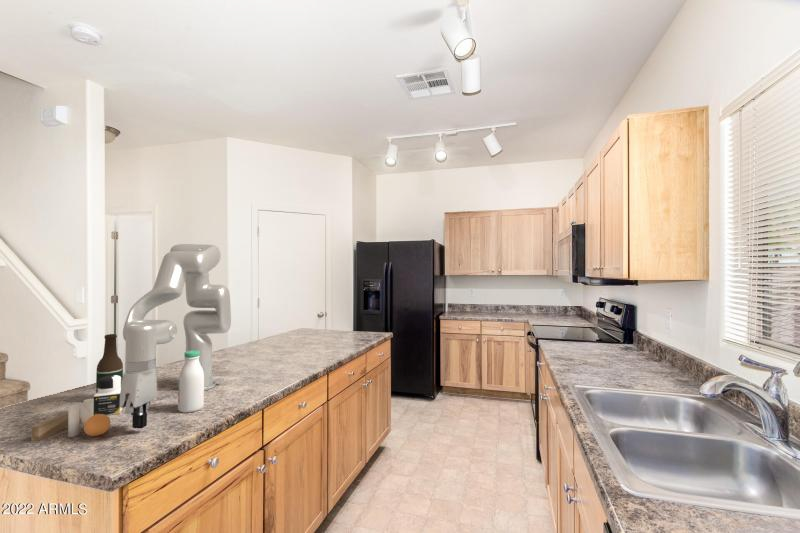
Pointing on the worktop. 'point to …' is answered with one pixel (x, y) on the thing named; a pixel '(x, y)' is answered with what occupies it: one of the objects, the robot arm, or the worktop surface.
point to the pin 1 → (73, 420)
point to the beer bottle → (109, 360)
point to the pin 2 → (89, 406)
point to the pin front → (83, 413)
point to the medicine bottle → (108, 396)
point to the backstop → (49, 427)
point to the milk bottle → (191, 384)
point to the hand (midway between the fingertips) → (139, 427)
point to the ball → (97, 425)
